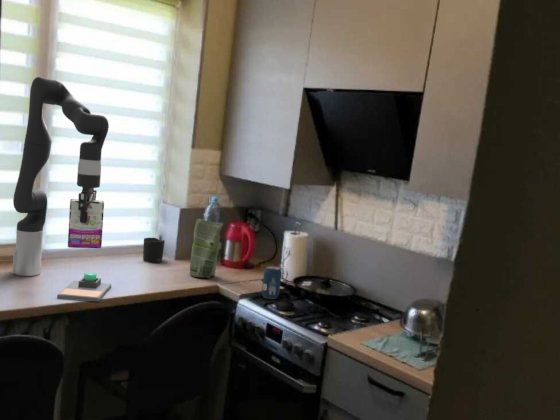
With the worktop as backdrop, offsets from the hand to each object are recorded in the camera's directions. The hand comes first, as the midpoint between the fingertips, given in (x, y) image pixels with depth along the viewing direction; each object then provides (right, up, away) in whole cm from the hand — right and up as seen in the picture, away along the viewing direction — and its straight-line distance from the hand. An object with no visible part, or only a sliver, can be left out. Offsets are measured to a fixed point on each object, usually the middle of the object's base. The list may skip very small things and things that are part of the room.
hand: (85, 221), depth 196 cm
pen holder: (+8, -20, +67) cm, 71 cm away
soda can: (+63, -31, +29) cm, 76 cm away
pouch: (+34, -25, +49) cm, 65 cm away
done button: (-3, -22, +14) cm, 26 cm away
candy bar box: (-1, -9, +1) cm, 9 cm away
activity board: (-3, -26, +9) cm, 28 cm away
